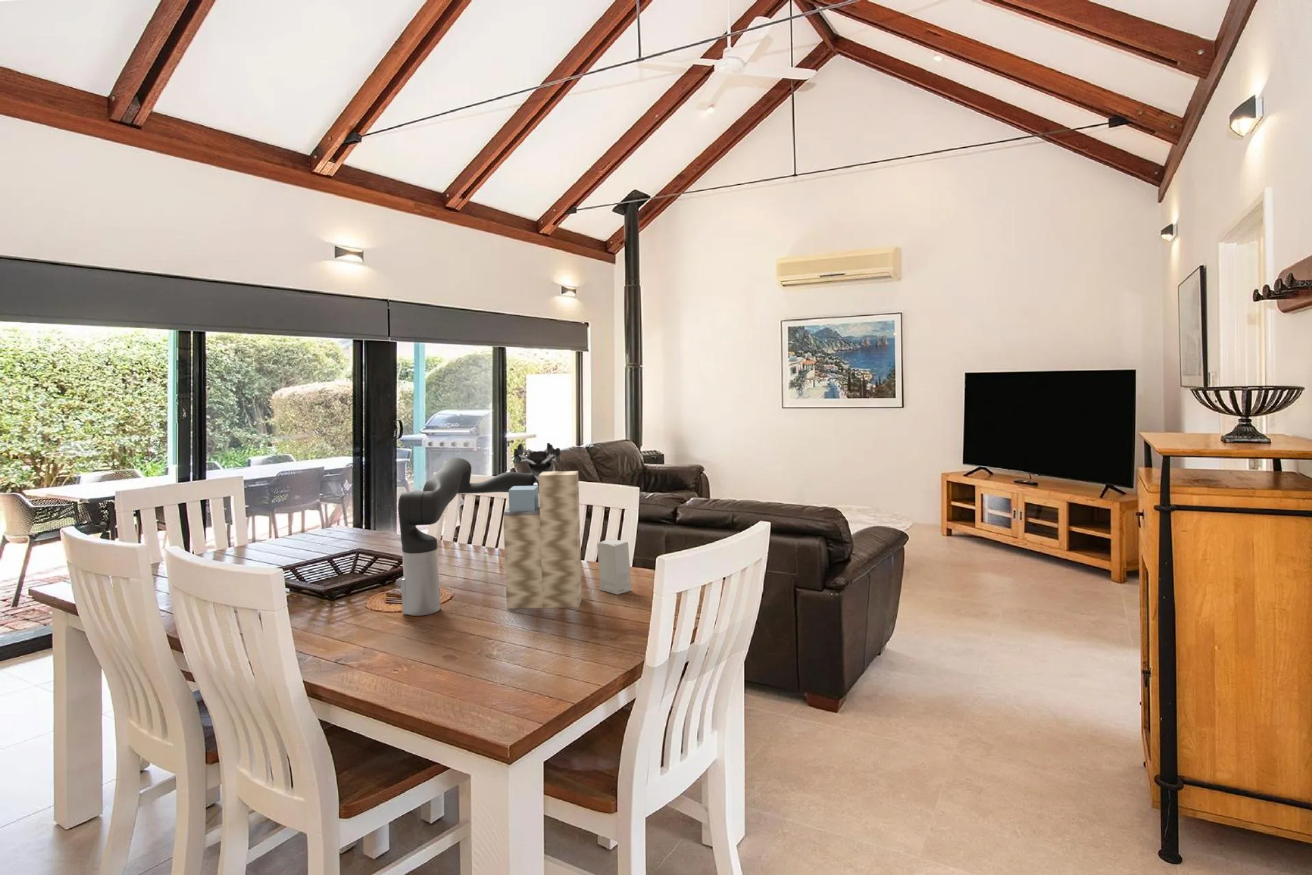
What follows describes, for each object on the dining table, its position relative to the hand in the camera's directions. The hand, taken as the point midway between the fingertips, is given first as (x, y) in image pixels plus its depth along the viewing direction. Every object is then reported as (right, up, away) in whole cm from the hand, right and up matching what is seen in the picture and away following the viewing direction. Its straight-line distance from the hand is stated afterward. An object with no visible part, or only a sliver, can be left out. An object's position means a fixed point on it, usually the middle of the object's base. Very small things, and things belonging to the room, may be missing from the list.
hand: (534, 446), depth 221 cm
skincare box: (+25, -43, -5) cm, 50 cm away
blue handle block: (0, -17, -13) cm, 22 cm away
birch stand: (+6, -44, -16) cm, 47 cm away
